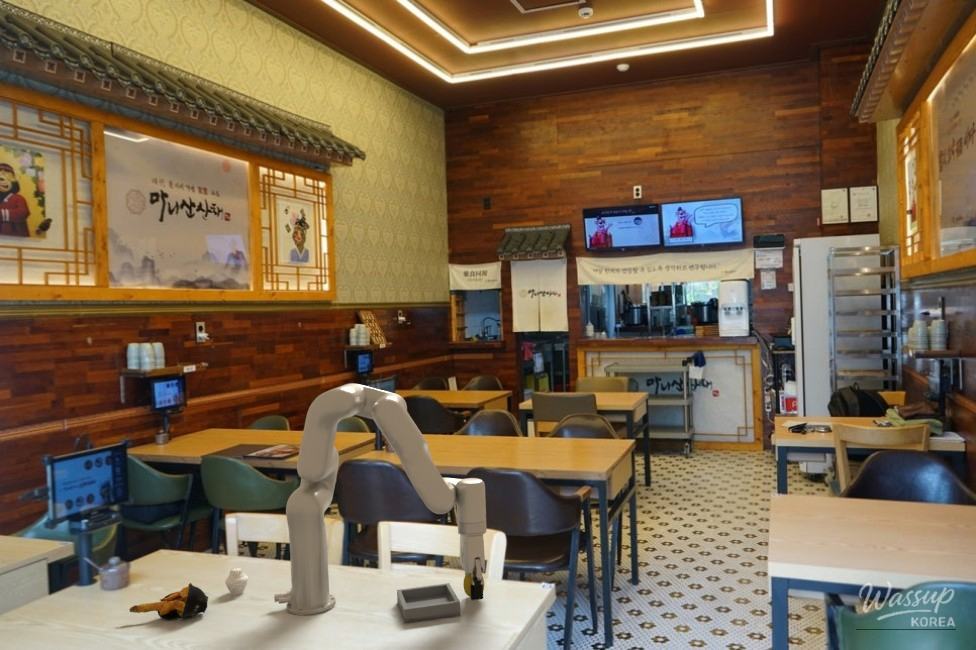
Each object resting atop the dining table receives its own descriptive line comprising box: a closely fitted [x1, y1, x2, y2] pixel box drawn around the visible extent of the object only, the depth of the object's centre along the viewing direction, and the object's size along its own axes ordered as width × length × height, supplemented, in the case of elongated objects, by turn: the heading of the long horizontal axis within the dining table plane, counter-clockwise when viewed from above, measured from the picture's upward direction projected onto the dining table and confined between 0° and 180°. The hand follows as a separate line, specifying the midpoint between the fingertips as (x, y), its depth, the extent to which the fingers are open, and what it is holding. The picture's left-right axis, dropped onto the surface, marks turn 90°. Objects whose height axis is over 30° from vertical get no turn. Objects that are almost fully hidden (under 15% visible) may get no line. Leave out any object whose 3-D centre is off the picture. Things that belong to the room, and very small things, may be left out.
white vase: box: [224, 567, 249, 595], centre depth 206 cm, size 6×6×7 cm
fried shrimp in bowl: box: [129, 582, 209, 621], centre depth 189 cm, size 9×11×18 cm
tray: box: [396, 582, 462, 625], centre depth 188 cm, size 14×14×4 cm
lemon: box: [462, 570, 485, 598], centre depth 194 cm, size 6×6×8 cm
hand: (474, 594), depth 194 cm, fingers closed on lemon, 5 cm apart
